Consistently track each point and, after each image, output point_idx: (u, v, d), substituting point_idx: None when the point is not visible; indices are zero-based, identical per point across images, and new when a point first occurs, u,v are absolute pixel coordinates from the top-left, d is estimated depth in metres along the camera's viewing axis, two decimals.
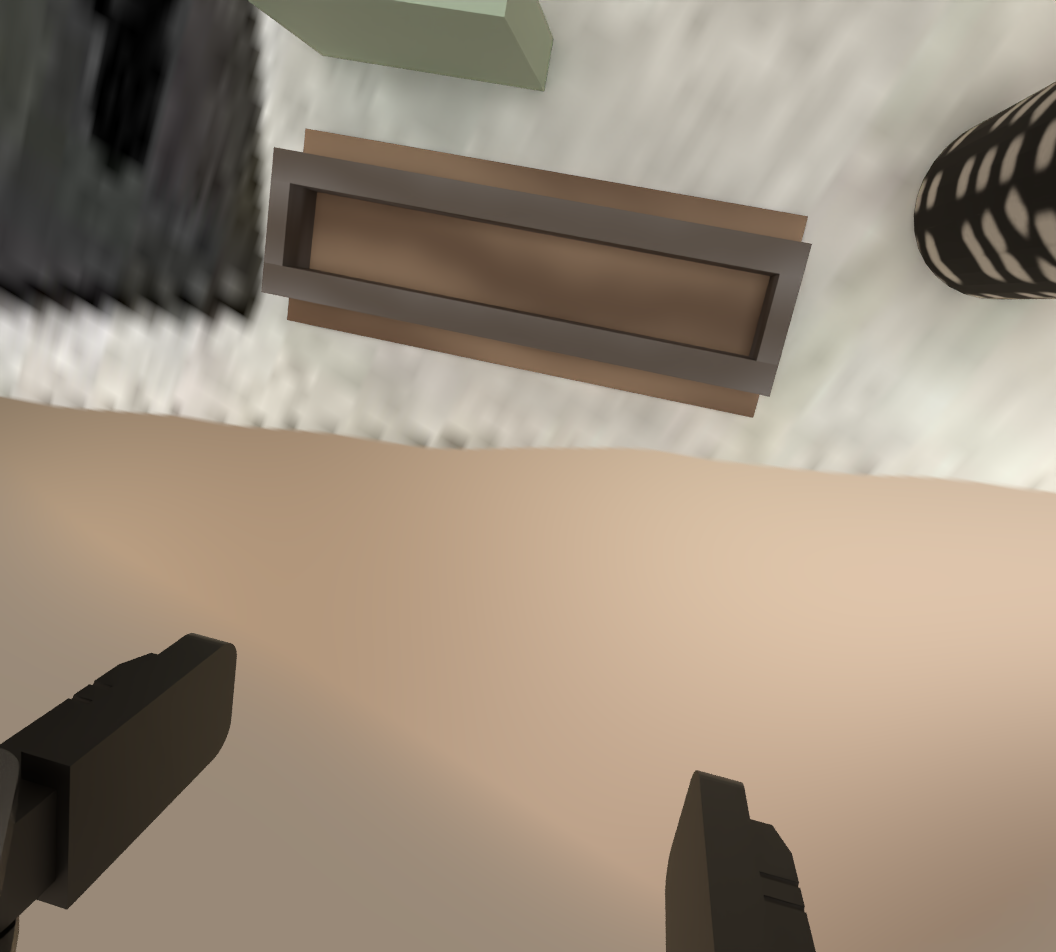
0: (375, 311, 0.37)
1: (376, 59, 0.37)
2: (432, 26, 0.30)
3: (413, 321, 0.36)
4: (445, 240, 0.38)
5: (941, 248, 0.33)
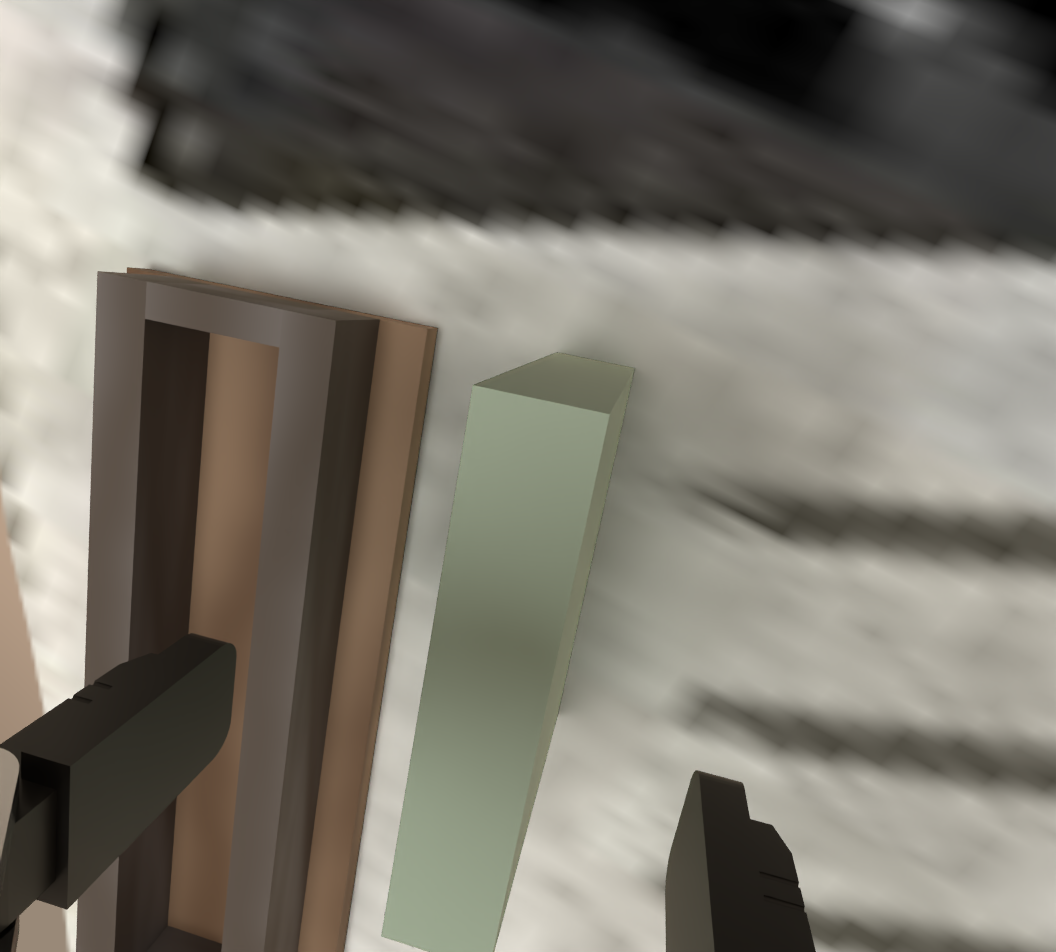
0: (96, 487, 0.21)
1: None
2: None
3: (91, 551, 0.22)
4: None
5: None
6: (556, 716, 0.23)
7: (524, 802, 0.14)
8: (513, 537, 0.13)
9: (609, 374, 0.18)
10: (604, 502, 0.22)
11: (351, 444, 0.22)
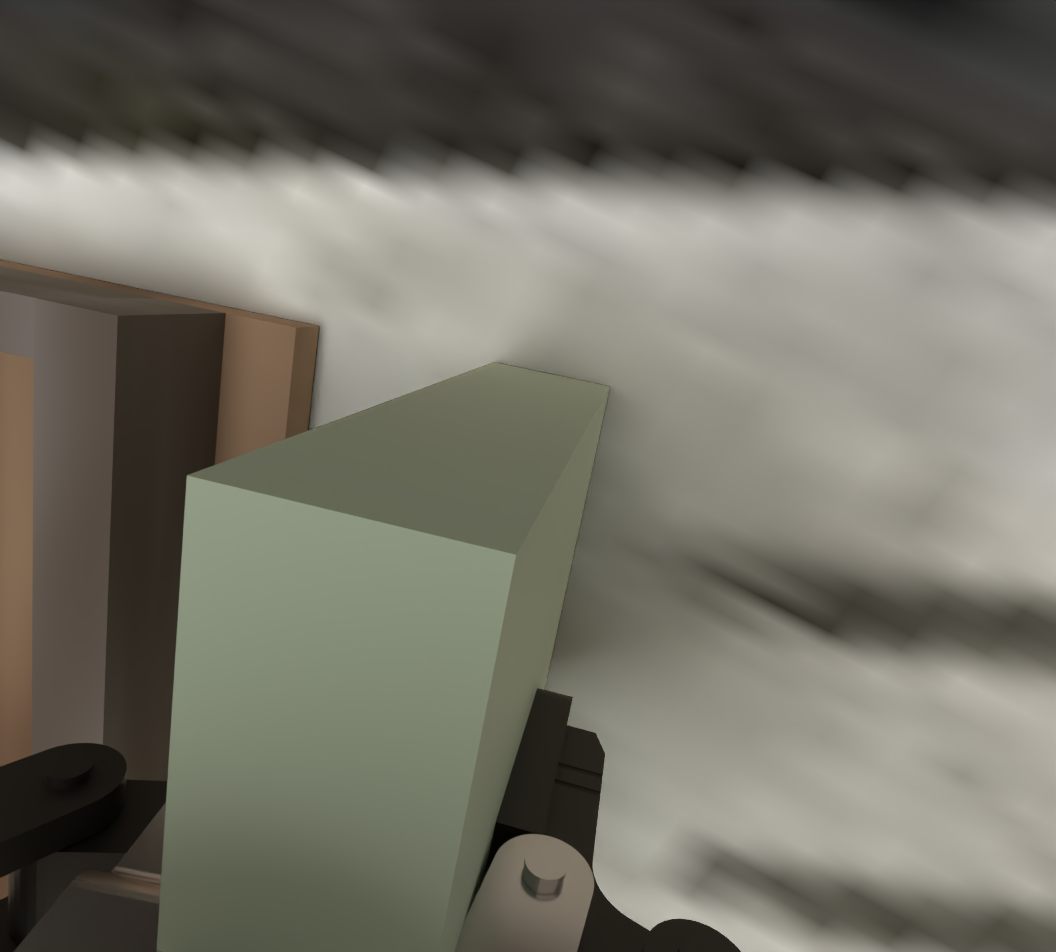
0: None
1: None
2: None
3: None
4: None
5: None
6: None
7: None
8: (307, 817, 0.06)
9: (563, 404, 0.11)
10: (565, 586, 0.15)
11: (184, 502, 0.14)
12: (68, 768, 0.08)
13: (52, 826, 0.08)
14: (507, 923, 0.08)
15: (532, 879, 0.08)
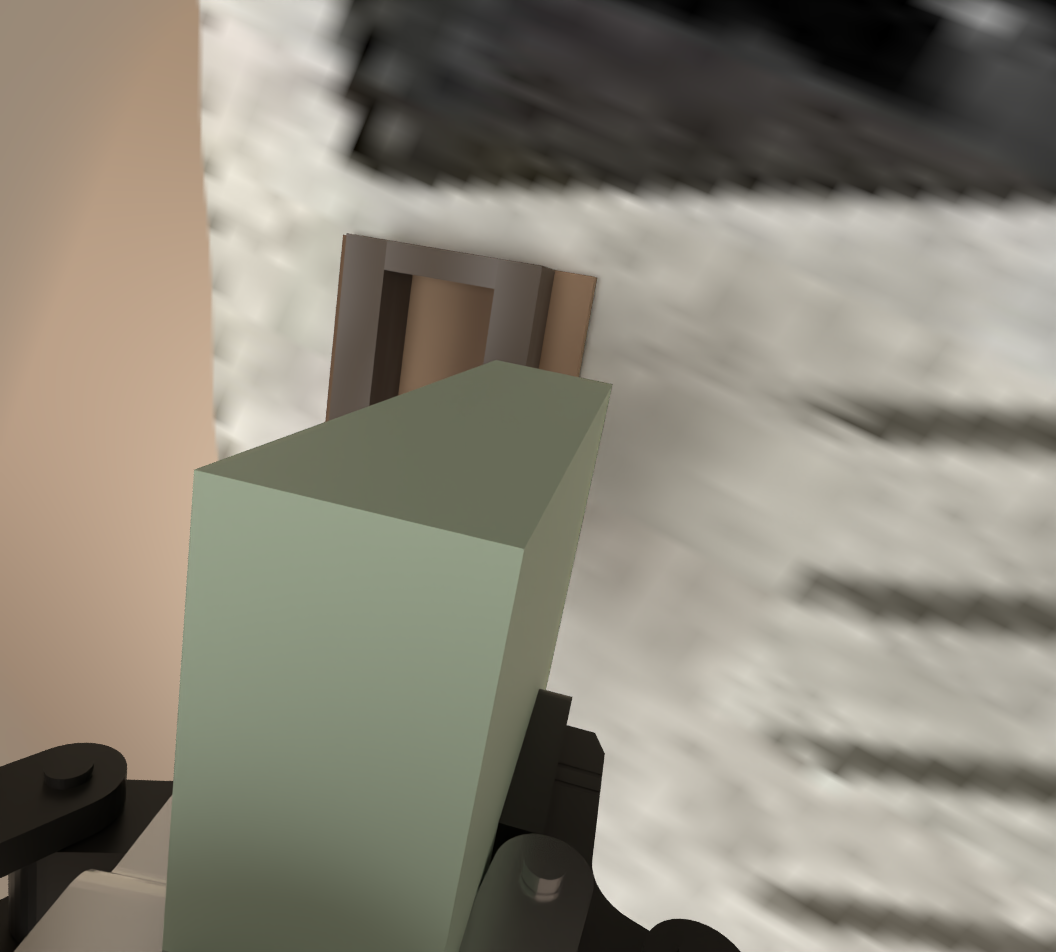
0: (334, 408, 0.27)
1: None
2: None
3: None
4: None
5: None
6: None
7: None
8: (314, 811, 0.06)
9: (566, 401, 0.11)
10: (567, 584, 0.15)
11: None
12: (68, 768, 0.08)
13: (53, 826, 0.08)
14: (507, 923, 0.08)
15: (532, 879, 0.08)
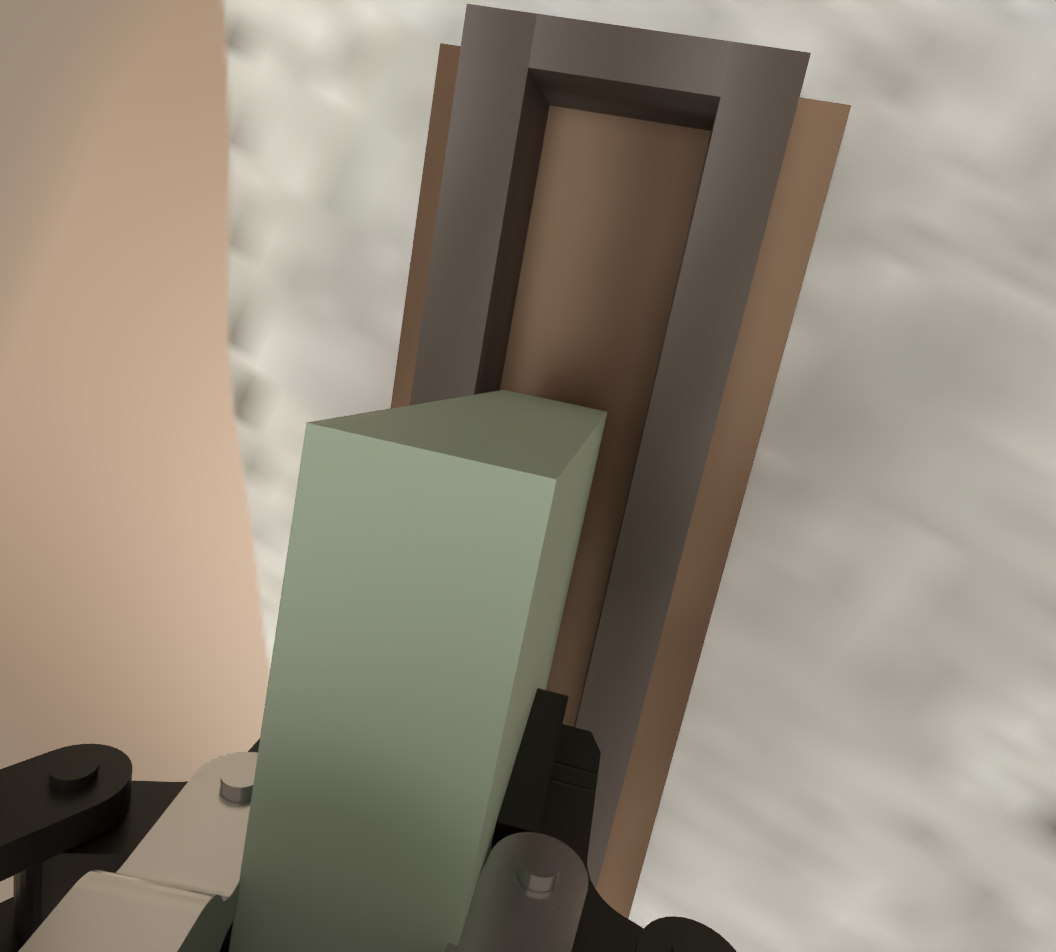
0: (431, 307, 0.17)
1: None
2: None
3: (415, 394, 0.17)
4: None
5: None
6: None
7: None
8: (384, 700, 0.07)
9: (570, 417, 0.13)
10: (566, 591, 0.16)
11: None
12: (73, 769, 0.08)
13: (58, 827, 0.08)
14: (501, 921, 0.08)
15: (526, 877, 0.08)
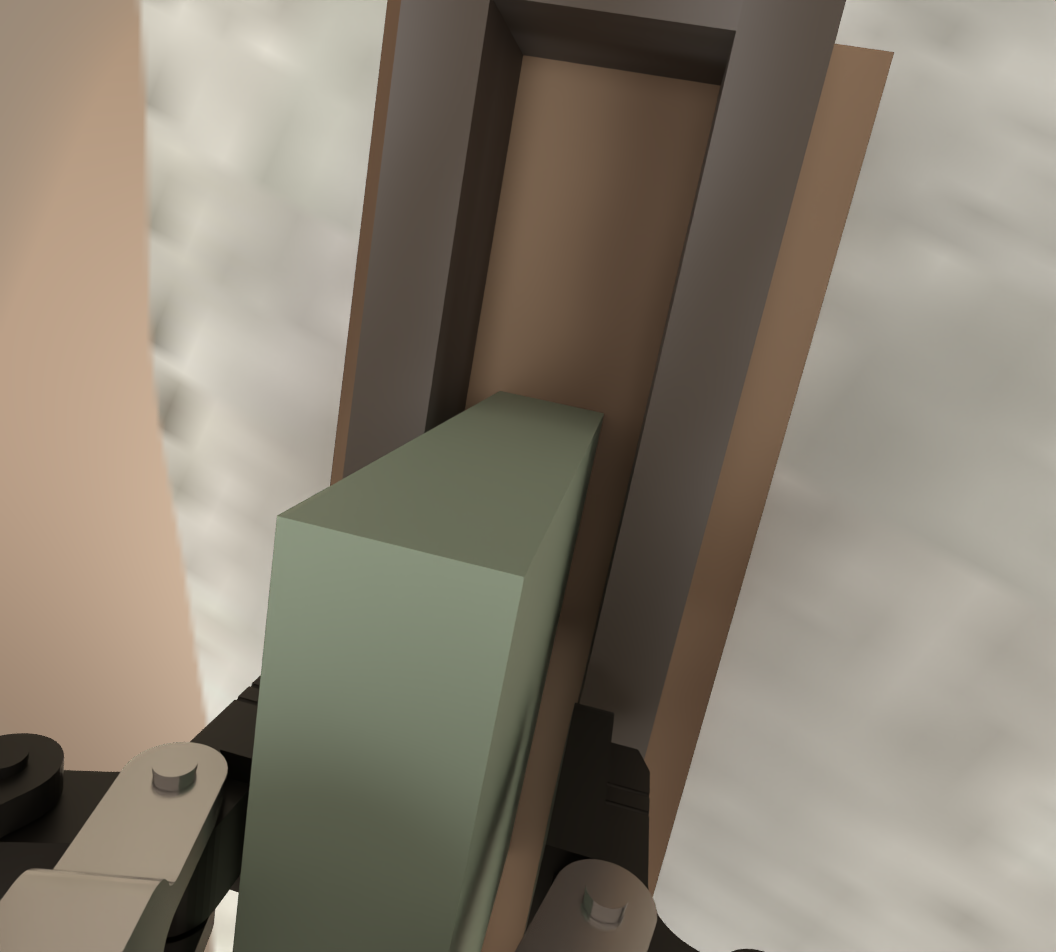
0: (373, 302, 0.13)
1: None
2: None
3: (355, 408, 0.14)
4: None
5: None
6: (503, 865, 0.18)
7: None
8: (363, 776, 0.07)
9: (562, 435, 0.13)
10: (563, 592, 0.17)
11: None
12: (2, 757, 0.08)
13: None
14: None
15: (594, 907, 0.08)
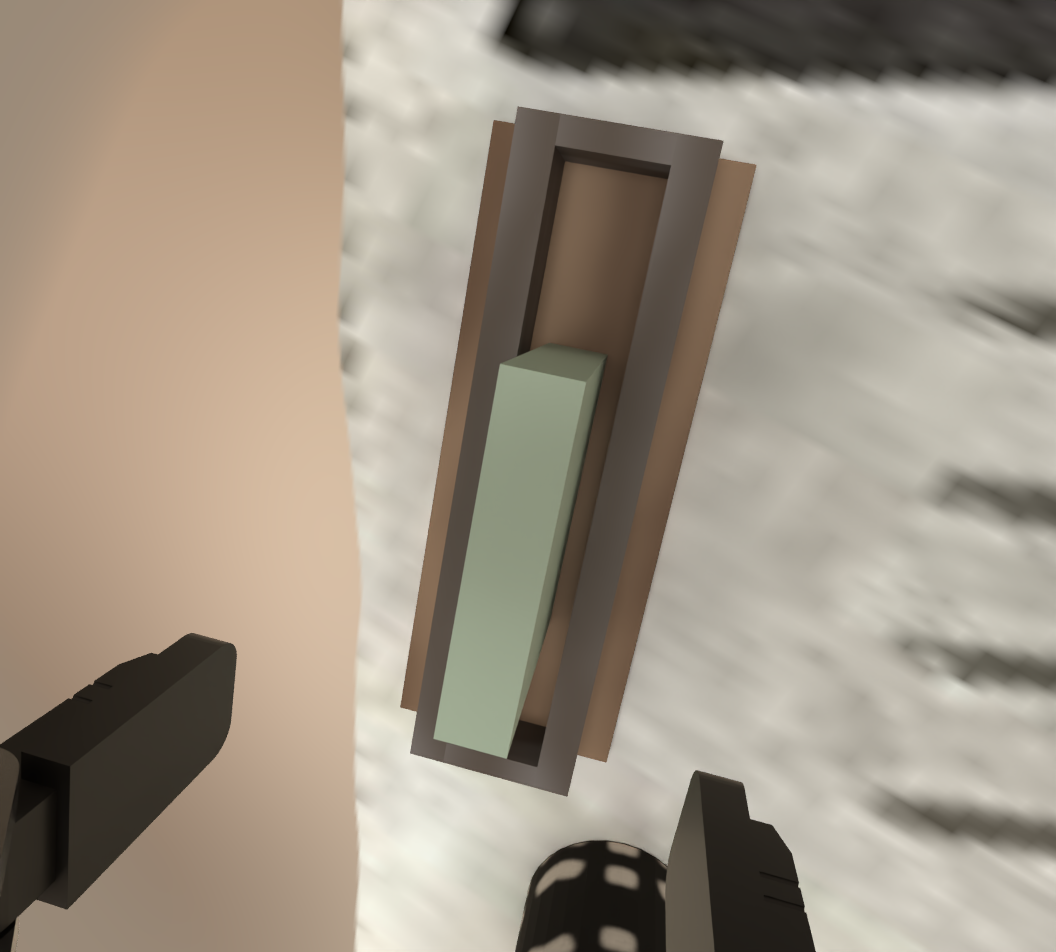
0: (491, 292, 0.26)
1: None
2: None
3: (480, 347, 0.27)
4: None
5: (565, 887, 0.33)
6: (549, 619, 0.31)
7: (531, 638, 0.22)
8: (525, 461, 0.20)
9: (588, 358, 0.26)
10: (585, 455, 0.29)
11: None
12: None
13: None
14: None
15: None
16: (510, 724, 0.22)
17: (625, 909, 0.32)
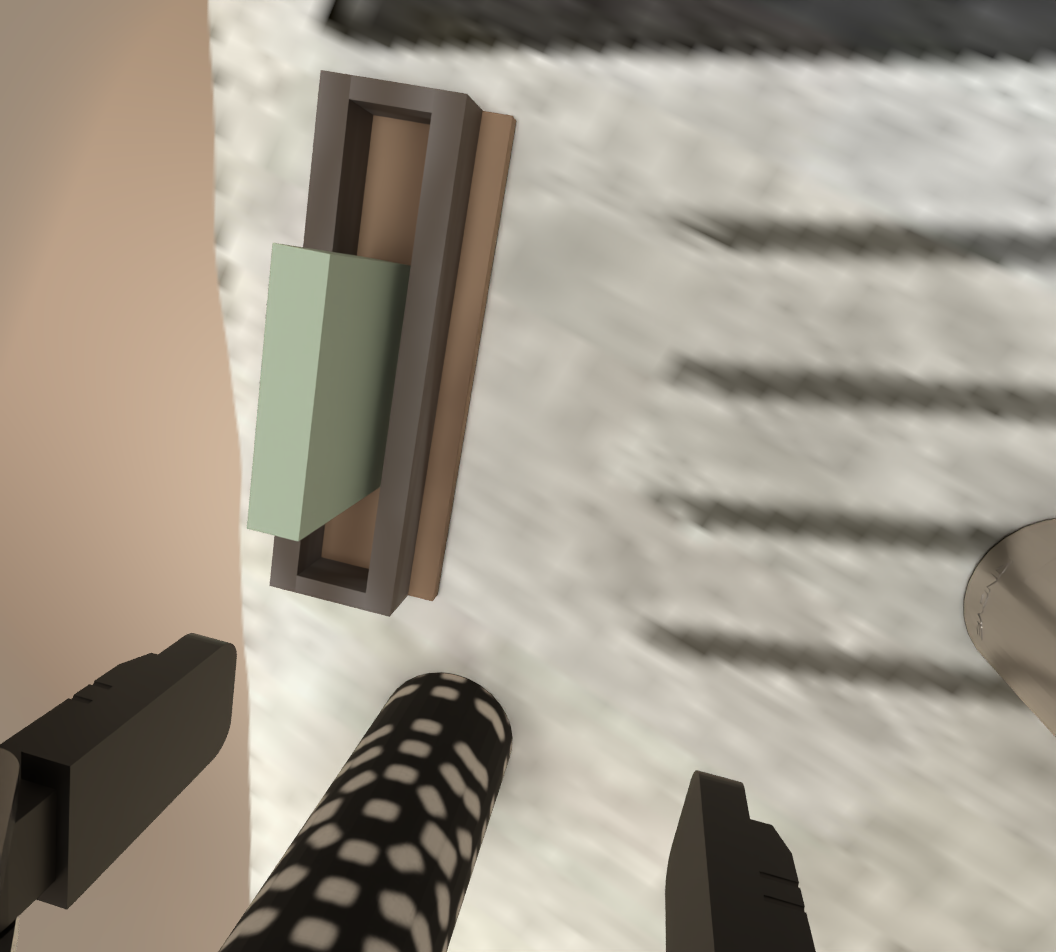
0: (310, 212, 0.35)
1: None
2: None
3: None
4: None
5: (399, 700, 0.42)
6: (376, 478, 0.39)
7: (308, 447, 0.30)
8: (294, 313, 0.29)
9: None
10: (398, 345, 0.38)
11: (465, 188, 0.35)
12: None
13: None
14: None
15: None
16: (298, 514, 0.31)
17: (439, 710, 0.40)
